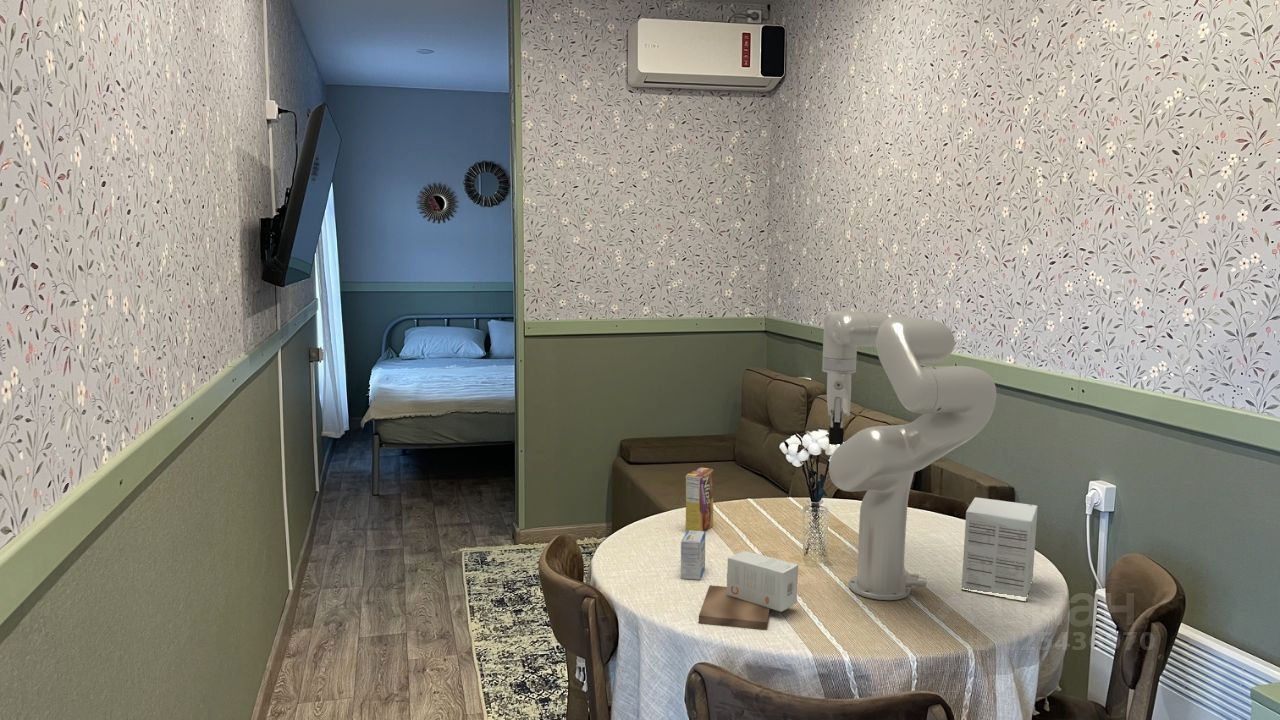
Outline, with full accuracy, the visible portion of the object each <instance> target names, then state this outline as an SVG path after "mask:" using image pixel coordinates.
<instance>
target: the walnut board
mask: <svg viewBox="0 0 1280 720" xmlns="http://www.w3.org/2000/svg"><path fill="white" fill-rule="evenodd" d="M707 588H708V589H707V592H706V593H705V597H704V600H703V603H702V605H701V607H700V608H701V609H700V610H699V611H700V612H699V614H698V623H699V624H703V623H704V624H706V625H716V626H726V627H734V628H735V627H736V628H744V629H745V628H747V629H755V630H768V624H769V619H770V612H771V609H770V608H767V607H763V606H760V605H757V604H754V603H751V602H748V601H744V600H741V599H738V598H735V597H731V596H728V595H727V586H724V585H723V586H720V585H712V584H711V585H709V586H708V587H707Z"/></svg>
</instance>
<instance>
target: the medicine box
mask: <svg viewBox="0 0 1280 720" xmlns="http://www.w3.org/2000/svg"><path fill="white" fill-rule="evenodd" d="M705 567H706V531H705V532H704V531H692V530H690V531H687V532H686V531H685V534H684V536H683V538H682V540H681V542H680V579H684V580H695V581H696V580H697V581H701V580H702V576H703V573H704V571H705Z"/></svg>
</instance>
